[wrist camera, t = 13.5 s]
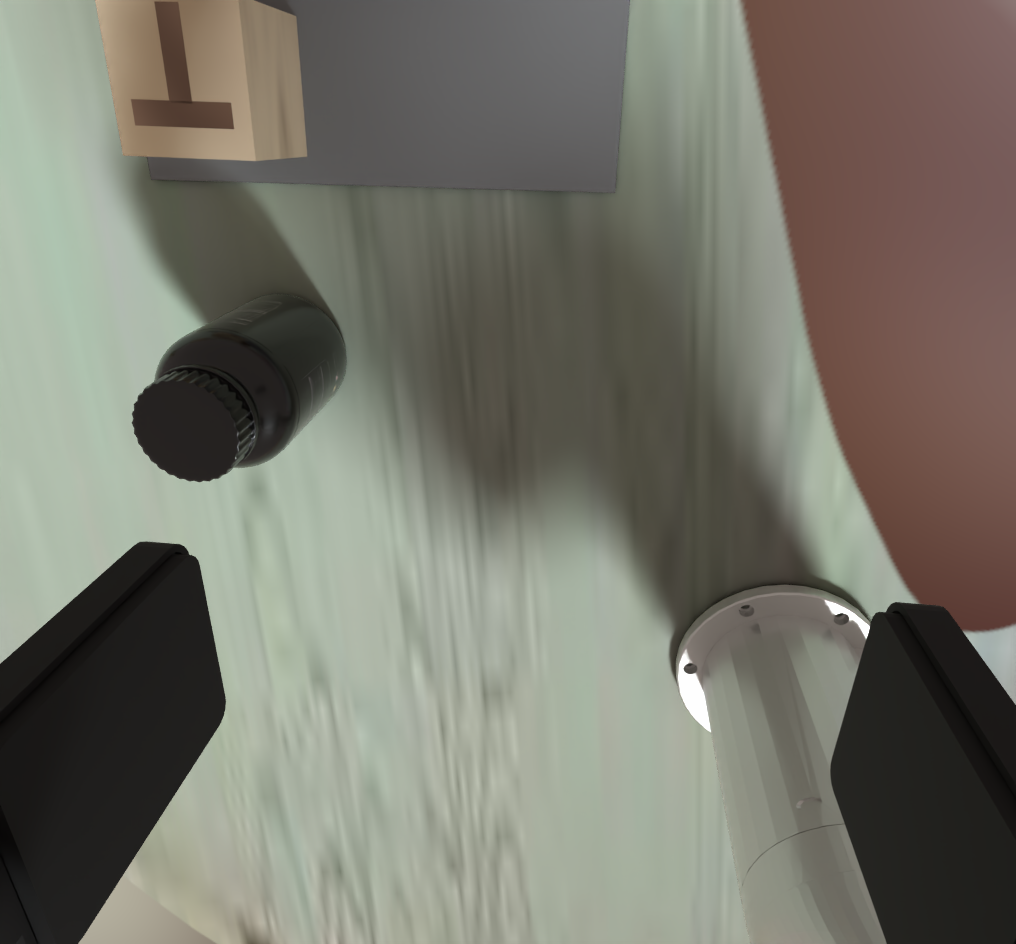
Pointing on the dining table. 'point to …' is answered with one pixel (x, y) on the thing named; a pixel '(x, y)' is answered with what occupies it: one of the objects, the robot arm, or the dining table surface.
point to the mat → (449, 96)
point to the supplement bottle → (240, 388)
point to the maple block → (204, 78)
